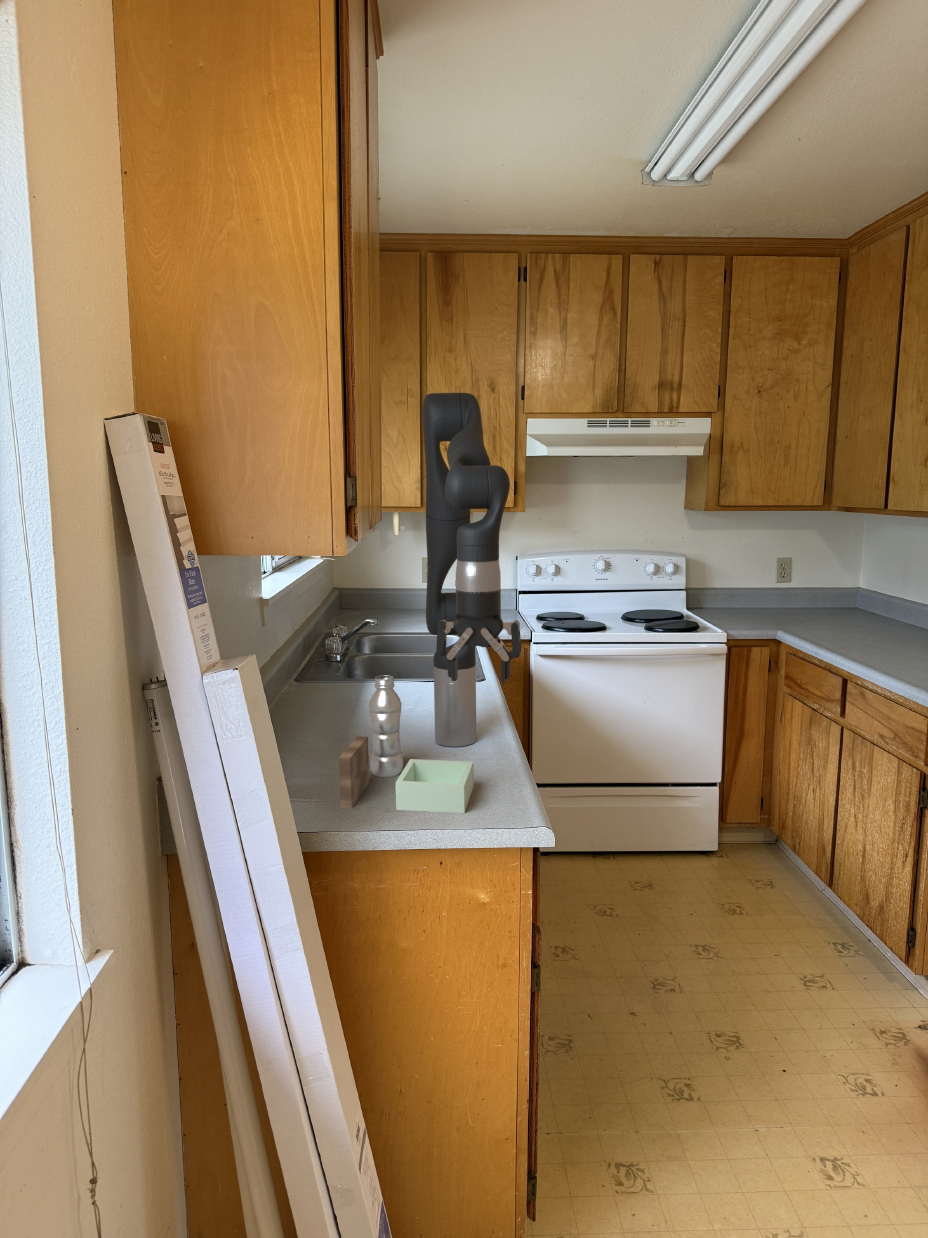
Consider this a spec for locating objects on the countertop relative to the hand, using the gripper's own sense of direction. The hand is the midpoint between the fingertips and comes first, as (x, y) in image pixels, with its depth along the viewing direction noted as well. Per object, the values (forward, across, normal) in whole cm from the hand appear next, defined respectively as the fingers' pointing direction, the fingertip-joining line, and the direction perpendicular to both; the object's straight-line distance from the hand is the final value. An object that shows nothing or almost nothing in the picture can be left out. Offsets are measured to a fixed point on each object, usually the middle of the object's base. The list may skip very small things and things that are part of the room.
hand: (479, 680), depth 140 cm
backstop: (+24, +12, -2) cm, 27 cm away
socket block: (+23, +8, -2) cm, 24 cm away
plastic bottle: (+24, +21, -14) cm, 35 cm away
